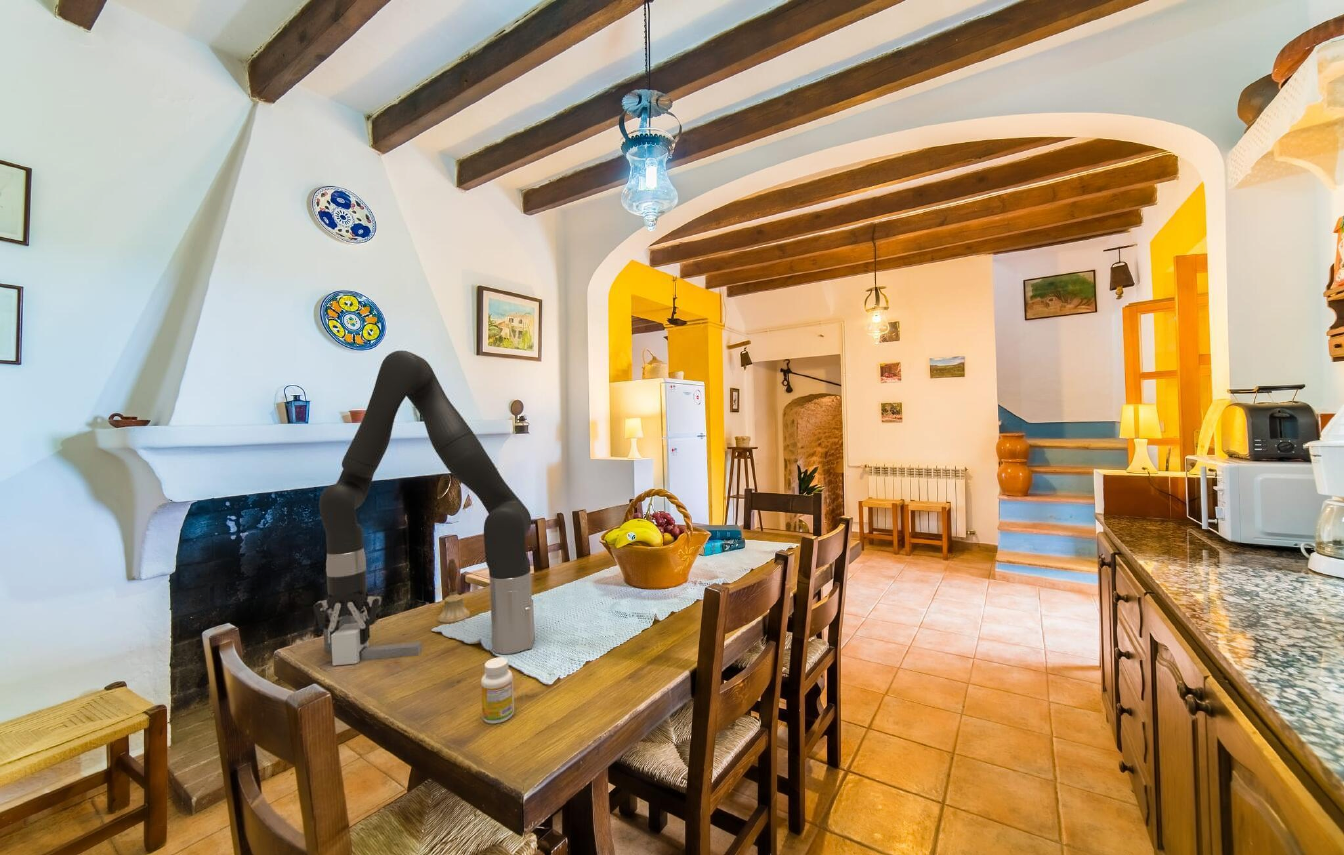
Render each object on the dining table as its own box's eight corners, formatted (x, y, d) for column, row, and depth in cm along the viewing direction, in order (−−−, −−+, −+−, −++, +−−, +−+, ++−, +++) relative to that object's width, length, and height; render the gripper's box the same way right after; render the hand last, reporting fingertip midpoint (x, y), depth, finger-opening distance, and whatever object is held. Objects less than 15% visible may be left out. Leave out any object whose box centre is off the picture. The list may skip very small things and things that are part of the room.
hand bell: (476, 615, 141) (474, 557, 141) (448, 625, 135) (445, 565, 134) (459, 609, 146) (456, 553, 146) (431, 619, 139) (428, 560, 139)
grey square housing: (365, 636, 129) (363, 601, 129) (351, 649, 122) (349, 611, 122) (339, 638, 128) (337, 603, 128) (324, 652, 121) (322, 614, 121)
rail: (421, 650, 120) (421, 641, 120) (418, 654, 118) (417, 646, 118) (338, 657, 118) (338, 649, 118) (333, 662, 116) (332, 654, 115)
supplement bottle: (487, 708, 95) (485, 656, 95) (517, 705, 96) (514, 654, 96) (478, 725, 90) (476, 670, 90) (510, 723, 90) (508, 668, 90)
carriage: (368, 651, 120) (367, 622, 120) (357, 663, 115) (355, 632, 114) (345, 653, 120) (344, 624, 120) (332, 665, 114) (331, 635, 114)
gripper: (387, 563, 121) (390, 634, 122) (321, 567, 119) (324, 640, 120) (373, 572, 114) (377, 648, 114) (302, 577, 112) (306, 655, 112)
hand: (350, 644), depth 117 cm, fingers closed on carriage, 5 cm apart
